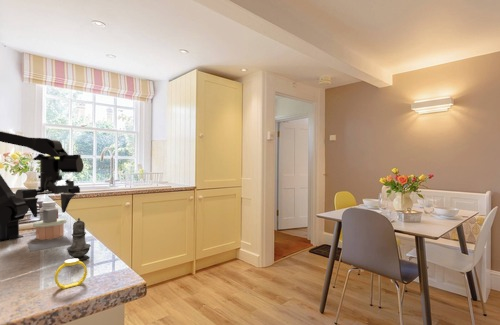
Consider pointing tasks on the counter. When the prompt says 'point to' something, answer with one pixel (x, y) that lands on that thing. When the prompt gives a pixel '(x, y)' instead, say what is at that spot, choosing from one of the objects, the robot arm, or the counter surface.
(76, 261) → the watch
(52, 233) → the bowl
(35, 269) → the counter surface
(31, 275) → the counter surface
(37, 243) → the mat
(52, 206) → the pill bottle
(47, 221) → the lid
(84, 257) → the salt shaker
